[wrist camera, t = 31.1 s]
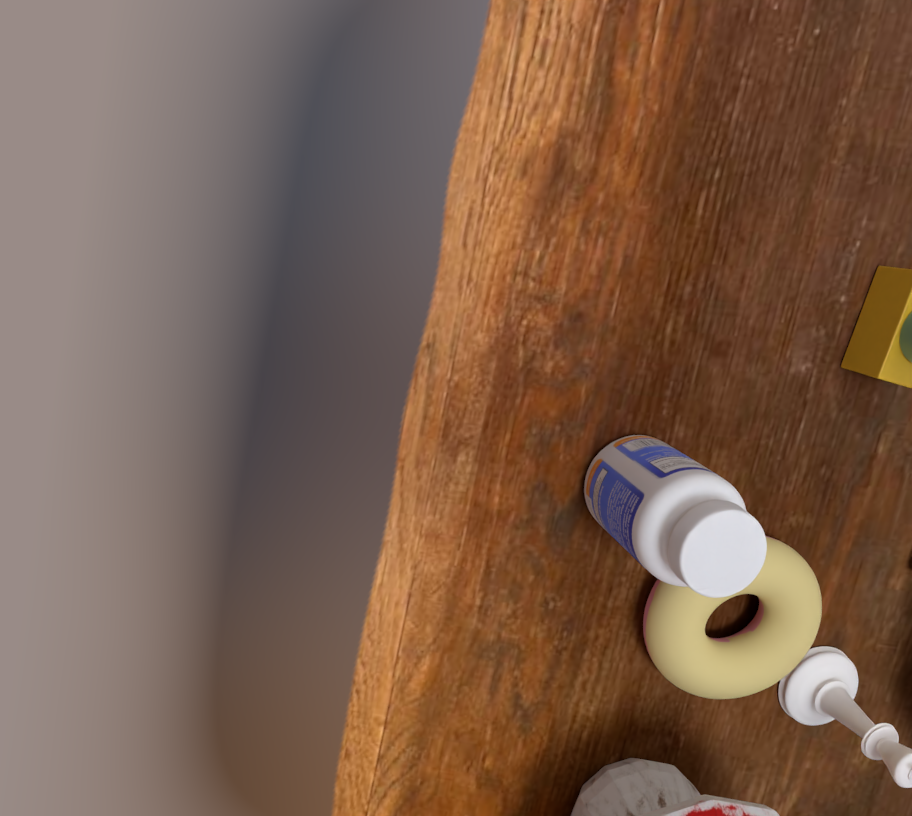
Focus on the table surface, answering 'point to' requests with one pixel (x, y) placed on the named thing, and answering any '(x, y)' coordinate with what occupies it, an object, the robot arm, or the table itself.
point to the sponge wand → (884, 329)
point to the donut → (745, 653)
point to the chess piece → (841, 707)
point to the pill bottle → (675, 516)
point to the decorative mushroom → (653, 794)
